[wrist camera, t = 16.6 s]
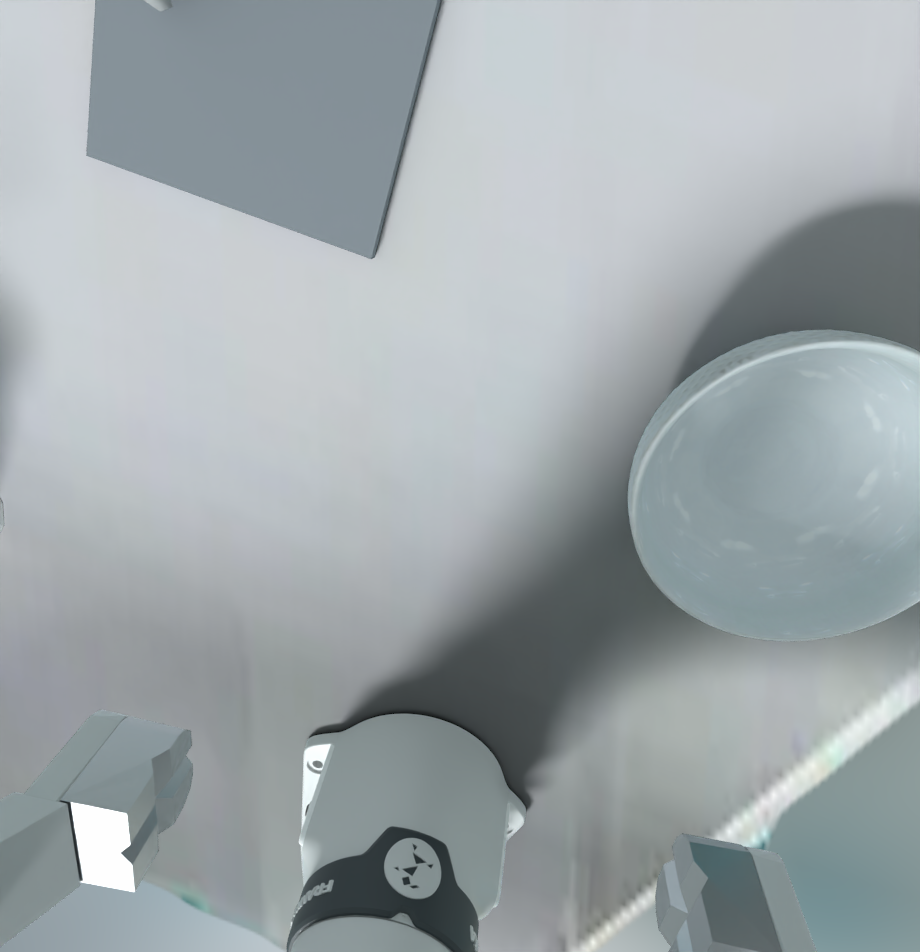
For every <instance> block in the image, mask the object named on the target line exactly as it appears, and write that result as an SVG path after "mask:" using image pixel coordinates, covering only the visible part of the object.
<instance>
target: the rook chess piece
mask: <svg viewBox="0 0 920 952" xmlns="http://www.w3.org/2000/svg"><path fill="white" fill-rule="evenodd" d="M144 1H146V2H147V3H148V4H150V5H151V6H153V7H154V8H156V9H157V10H159V11H164V10H166V9H169V8H171V7H173V6H172V3H171V0H144Z"/></svg>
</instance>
